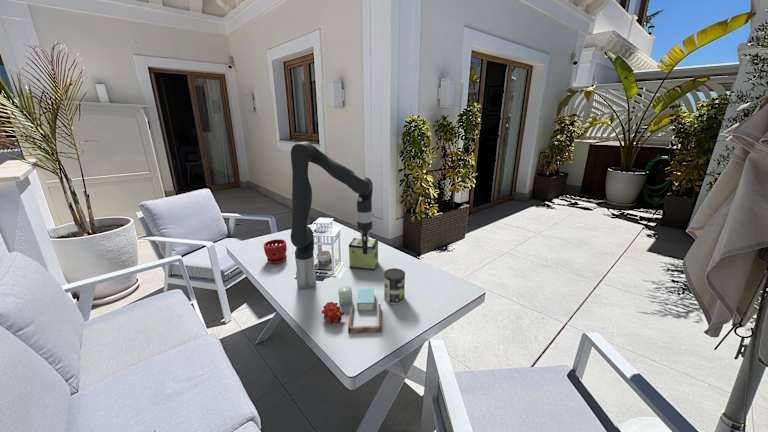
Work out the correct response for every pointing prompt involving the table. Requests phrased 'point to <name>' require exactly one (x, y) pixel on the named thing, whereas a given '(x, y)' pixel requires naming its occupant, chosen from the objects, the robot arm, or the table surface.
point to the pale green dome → (345, 295)
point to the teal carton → (365, 299)
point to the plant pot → (275, 251)
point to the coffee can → (394, 286)
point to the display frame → (364, 328)
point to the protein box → (360, 259)
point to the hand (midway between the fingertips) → (365, 250)
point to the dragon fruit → (332, 312)
